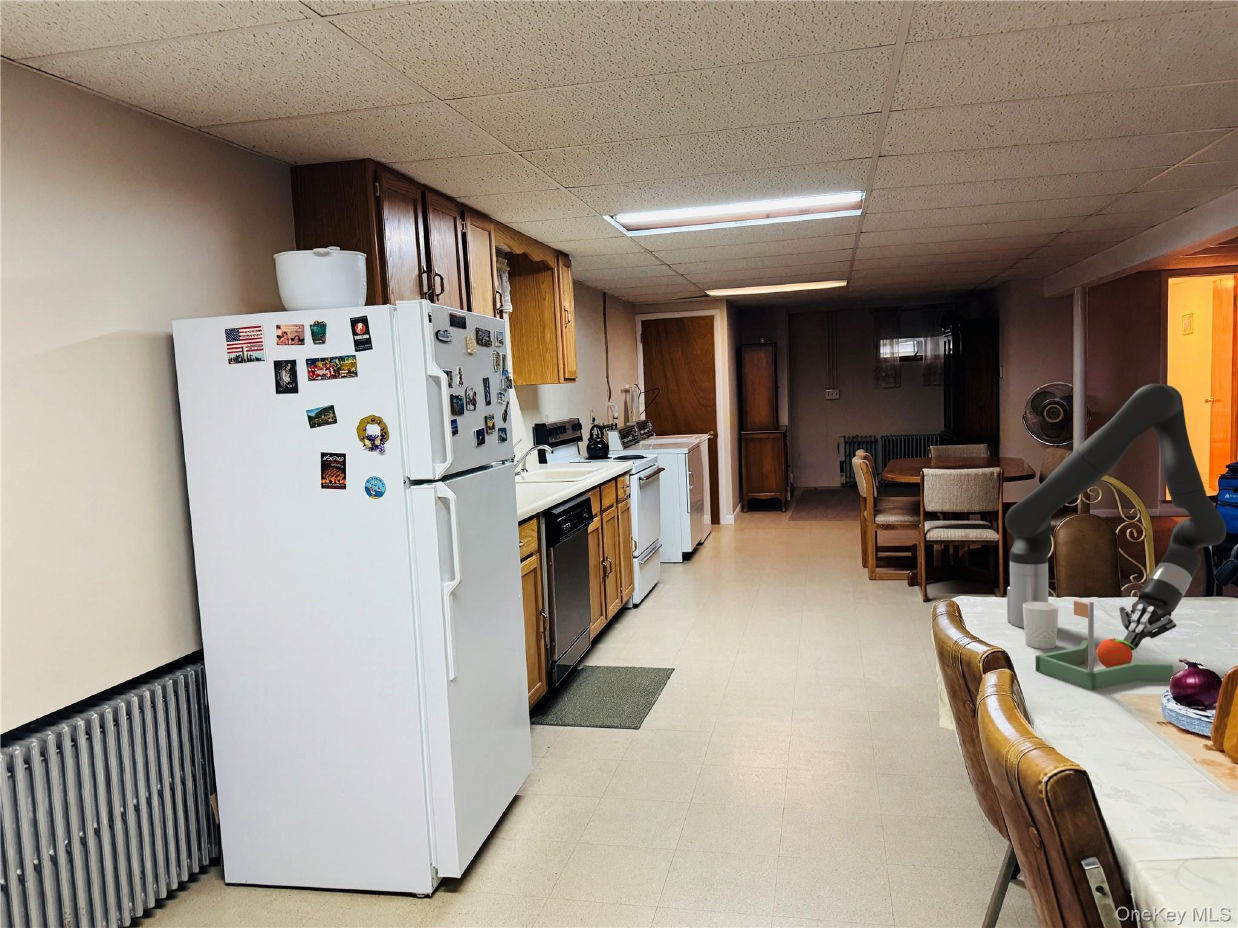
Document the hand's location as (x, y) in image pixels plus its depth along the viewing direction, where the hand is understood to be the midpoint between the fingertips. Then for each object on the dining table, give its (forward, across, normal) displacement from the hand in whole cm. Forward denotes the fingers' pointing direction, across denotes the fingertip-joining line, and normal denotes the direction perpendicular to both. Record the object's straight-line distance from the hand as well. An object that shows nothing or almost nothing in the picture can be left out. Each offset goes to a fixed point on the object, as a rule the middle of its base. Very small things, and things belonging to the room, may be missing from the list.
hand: (1127, 647), depth 188 cm
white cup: (+5, -22, +2) cm, 22 cm away
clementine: (+6, 0, +1) cm, 6 cm away
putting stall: (+10, -1, -3) cm, 10 cm away
